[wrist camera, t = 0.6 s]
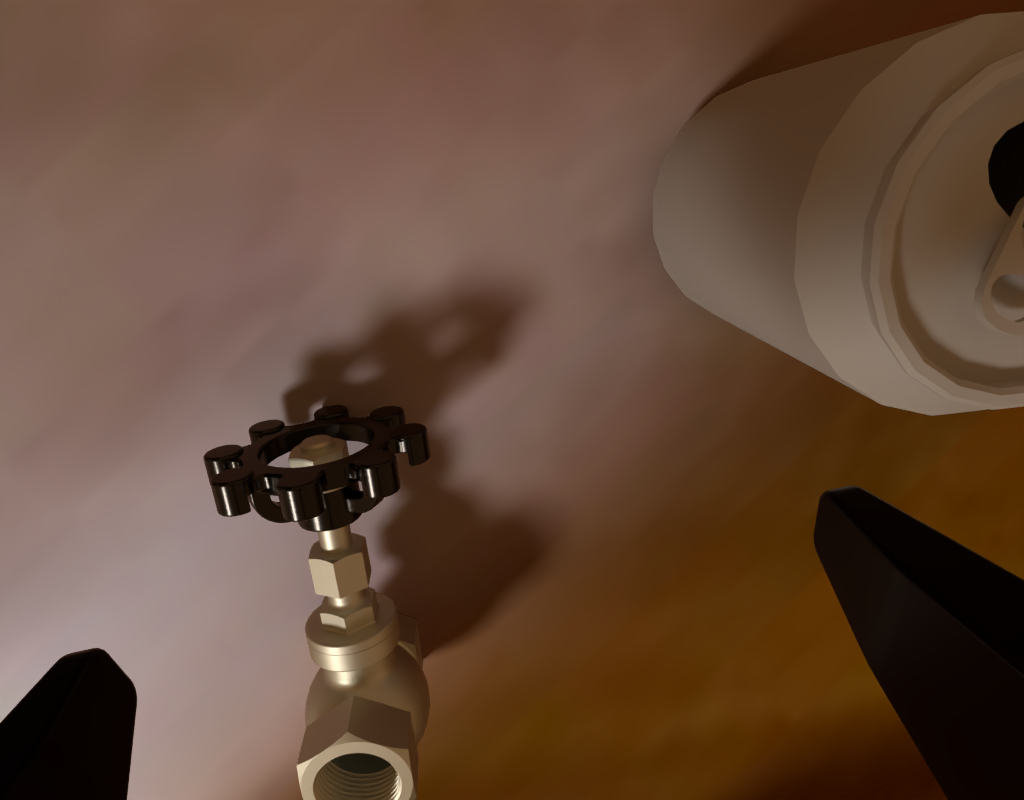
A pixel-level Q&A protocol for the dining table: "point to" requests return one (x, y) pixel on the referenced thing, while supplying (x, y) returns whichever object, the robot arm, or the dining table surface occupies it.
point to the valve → (342, 594)
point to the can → (867, 215)
